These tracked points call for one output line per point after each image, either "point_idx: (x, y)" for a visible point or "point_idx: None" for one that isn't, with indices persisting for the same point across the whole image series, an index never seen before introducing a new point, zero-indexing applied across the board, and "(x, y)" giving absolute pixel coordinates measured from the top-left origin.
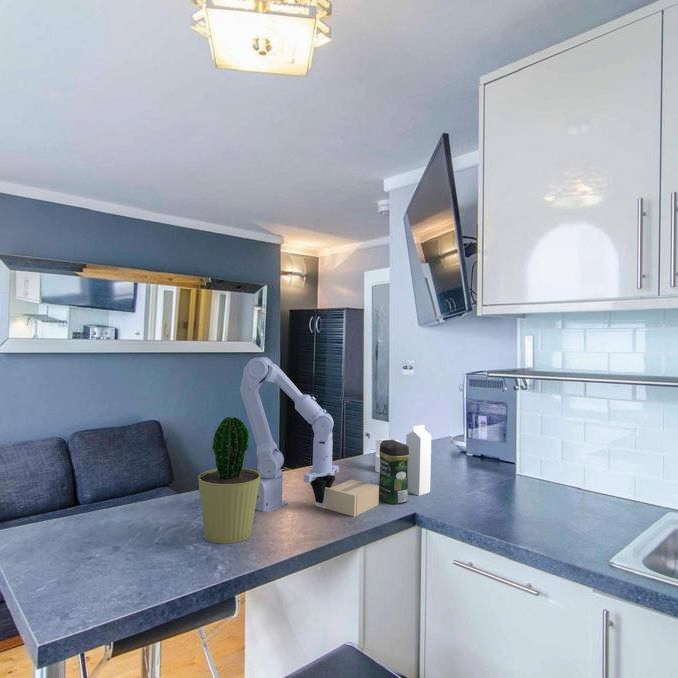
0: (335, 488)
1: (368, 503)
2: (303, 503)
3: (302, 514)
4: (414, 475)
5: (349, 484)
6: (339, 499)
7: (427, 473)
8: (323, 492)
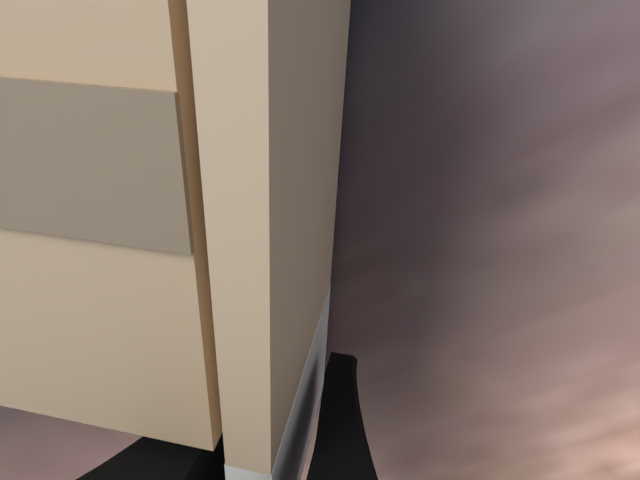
0: (142, 368)
1: None
2: None
3: (563, 391)
4: None
5: None
6: (310, 159)
7: None
8: (328, 445)
